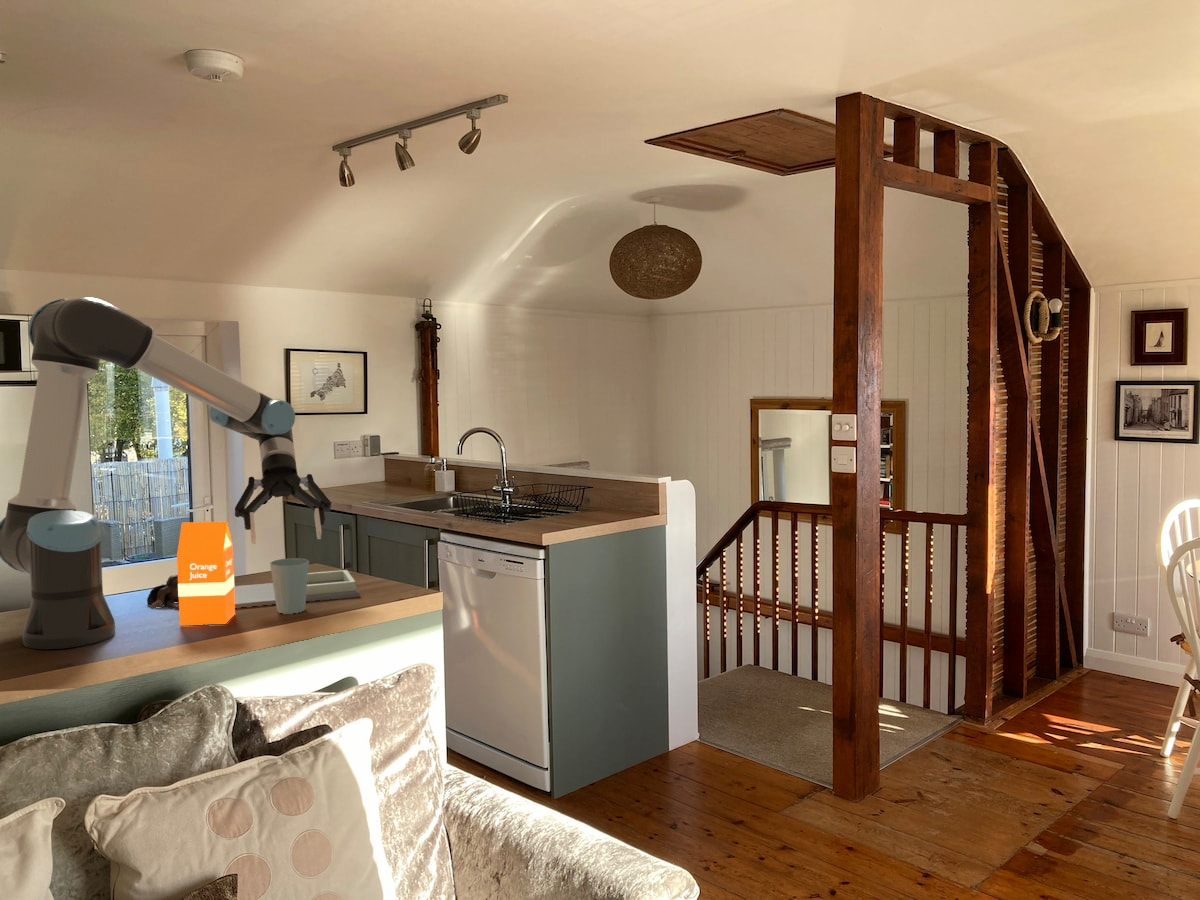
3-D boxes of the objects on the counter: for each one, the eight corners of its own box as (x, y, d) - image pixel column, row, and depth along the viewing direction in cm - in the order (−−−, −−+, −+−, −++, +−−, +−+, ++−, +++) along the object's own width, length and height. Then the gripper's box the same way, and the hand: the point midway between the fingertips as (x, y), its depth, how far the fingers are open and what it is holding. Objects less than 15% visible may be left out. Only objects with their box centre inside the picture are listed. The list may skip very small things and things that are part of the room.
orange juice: (226, 625, 186) (222, 524, 185) (179, 626, 185) (174, 525, 183) (235, 614, 194) (232, 518, 192) (190, 616, 193) (186, 519, 191)
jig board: (233, 608, 198) (232, 594, 198) (230, 590, 214) (229, 577, 214) (359, 596, 209) (359, 583, 208) (347, 580, 224) (347, 568, 224)
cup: (263, 612, 196) (262, 562, 195) (293, 604, 202) (291, 556, 201) (288, 617, 192) (287, 567, 191) (317, 609, 198) (316, 560, 197)
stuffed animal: (162, 609, 195) (141, 569, 201) (154, 641, 200) (134, 602, 206) (218, 597, 203) (196, 560, 210) (209, 629, 208) (188, 591, 214)
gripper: (333, 469, 225) (344, 543, 212) (220, 475, 215) (225, 552, 202) (335, 449, 219) (347, 523, 207) (219, 453, 209) (225, 532, 197)
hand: (287, 538), depth 205 cm, fingers open, 13 cm apart
